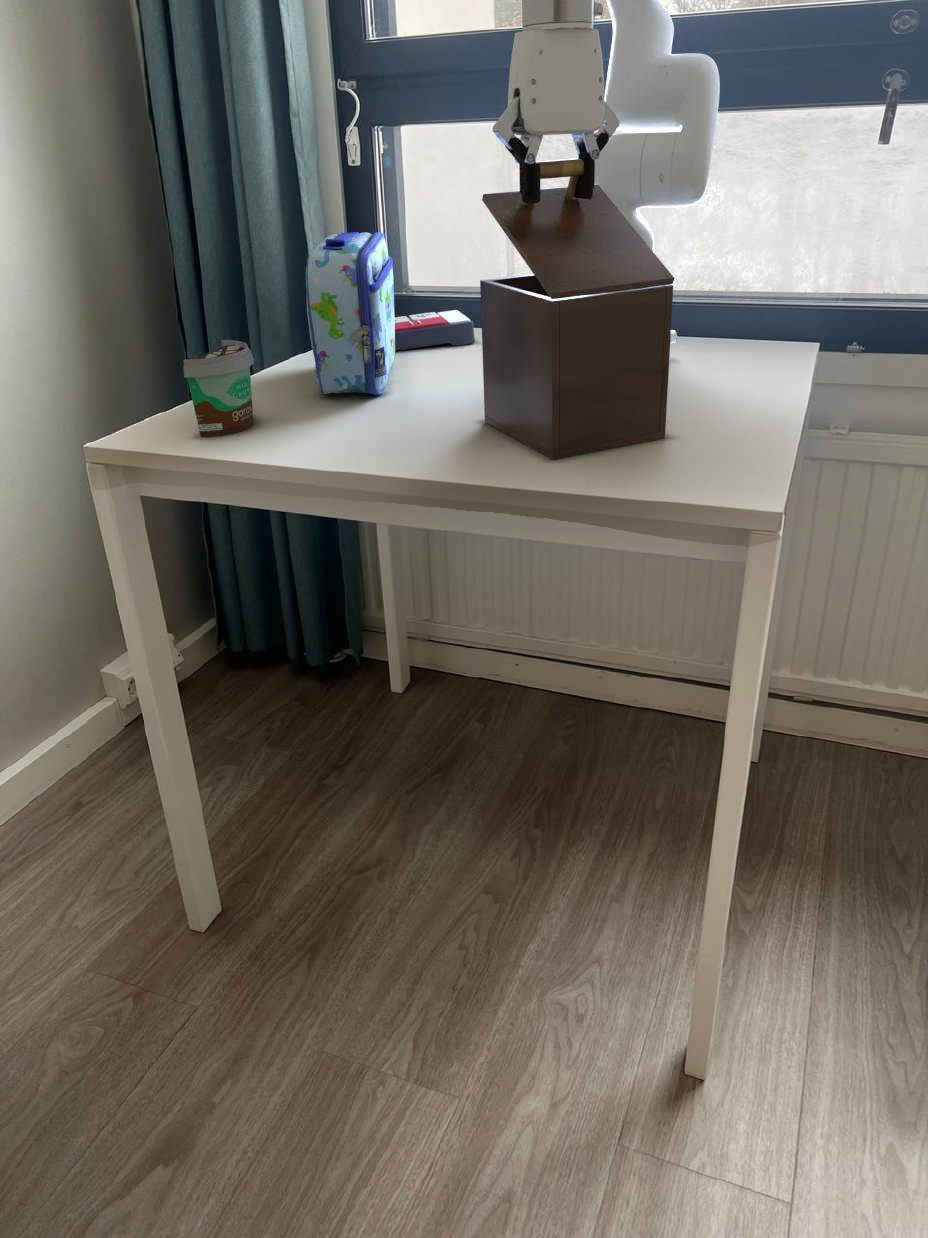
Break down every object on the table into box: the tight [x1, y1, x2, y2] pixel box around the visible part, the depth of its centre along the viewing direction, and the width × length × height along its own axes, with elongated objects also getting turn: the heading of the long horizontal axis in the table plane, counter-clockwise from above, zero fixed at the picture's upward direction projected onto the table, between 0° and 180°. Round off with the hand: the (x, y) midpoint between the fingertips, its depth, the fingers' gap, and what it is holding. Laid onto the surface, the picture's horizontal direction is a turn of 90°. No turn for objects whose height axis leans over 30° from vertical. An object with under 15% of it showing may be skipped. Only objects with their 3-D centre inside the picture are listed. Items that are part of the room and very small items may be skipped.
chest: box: [479, 273, 674, 461], centre depth 116 cm, size 18×15×17 cm
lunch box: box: [305, 231, 396, 396], centre depth 142 cm, size 26×11×21 cm, turn 178°
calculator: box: [394, 309, 476, 352], centre depth 169 cm, size 11×4×15 cm
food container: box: [182, 339, 255, 438], centre depth 126 cm, size 12×6×10 cm, turn 168°
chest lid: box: [481, 158, 675, 299], centre depth 107 cm, size 19×15×5 cm
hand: (557, 198), depth 111 cm, fingers closed on chest lid, 6 cm apart
